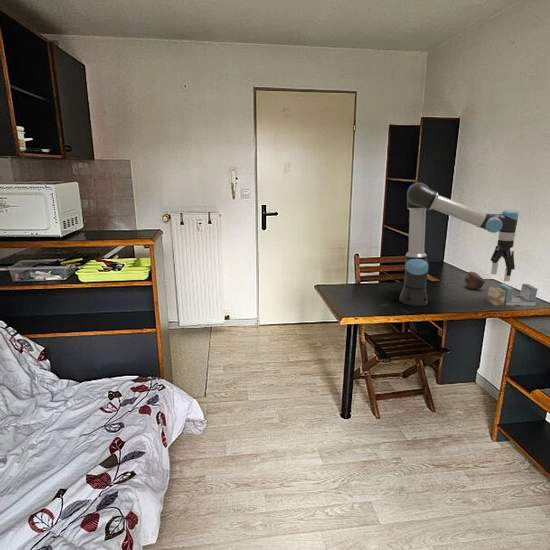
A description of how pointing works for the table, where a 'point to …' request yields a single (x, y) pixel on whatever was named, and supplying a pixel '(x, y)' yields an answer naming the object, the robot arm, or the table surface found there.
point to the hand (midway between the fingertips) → (499, 277)
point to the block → (496, 295)
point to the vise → (524, 296)
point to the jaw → (507, 292)
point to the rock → (474, 281)
